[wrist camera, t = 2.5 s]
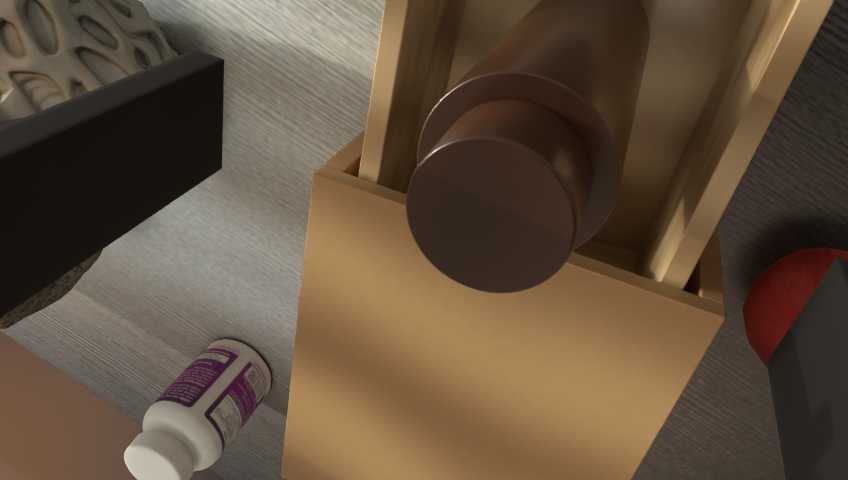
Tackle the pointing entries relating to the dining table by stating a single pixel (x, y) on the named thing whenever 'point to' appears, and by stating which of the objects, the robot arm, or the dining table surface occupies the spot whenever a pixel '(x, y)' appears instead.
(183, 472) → the pill bottle
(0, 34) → the teapot
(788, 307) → the red pomegranate
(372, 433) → the cabinet
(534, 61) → the pepper mill
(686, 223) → the drawer
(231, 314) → the dining table surface
